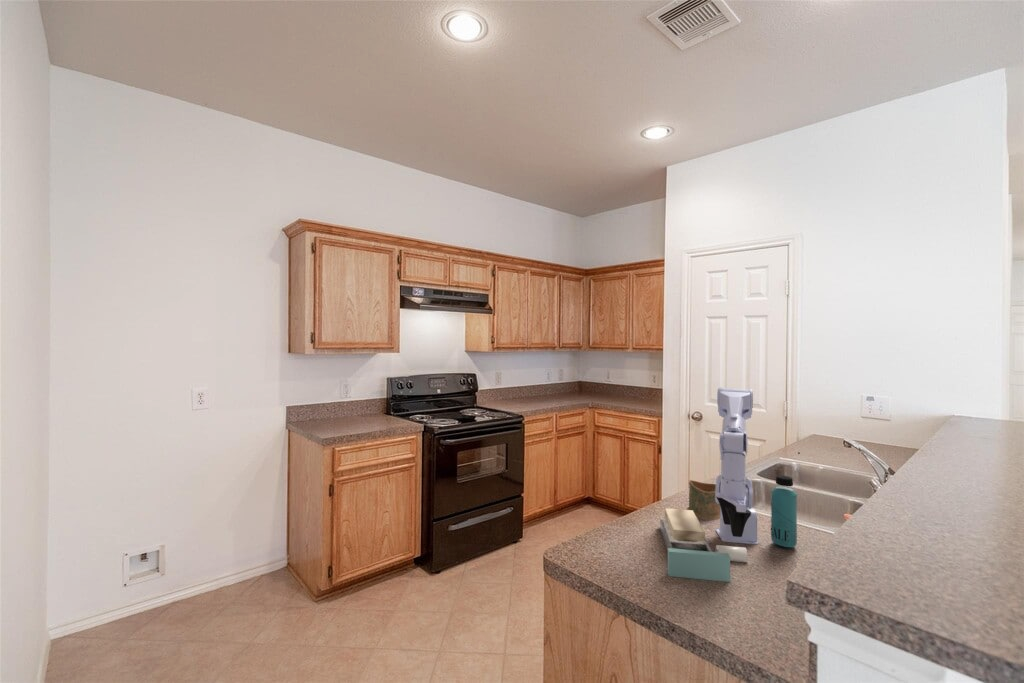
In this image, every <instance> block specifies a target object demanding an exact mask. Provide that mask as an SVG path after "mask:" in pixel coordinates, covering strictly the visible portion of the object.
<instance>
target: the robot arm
mask: <svg viewBox="0 0 1024 683" xmlns="http://www.w3.org/2000/svg"><path fill="white" fill-rule="evenodd" d="M716 394H717V395H716V397H717V400H716V401H717V412H718V415H719V417H722V418H723V419H722V425H721V426H722V427H721V432H719V445H718V446H719V453H720V454H719V455H720V460H721V461H720V462H721V463H720V465H721V466H720V474H719V475H718V476H717V478H716V483H715V484H716V488H715V501H716V502H717V504H720V519H719V520H720V521H719V528H717V529H715V531H716V533H717V535H718V537H719V538H720V540H721V541H722V542H724V543H736V544H747V545H759V542H758V516H757V512H756V510H755V508H754V507H753V504H754V503H753V502H754V499H753V498H754V491H753V490H754V489H753V482H752V480H751V479H750V478H748V477H747V476H746V461H747V460H746V458H747V455H748V435H747V430H746V428H747V426H746V420H749V419H751V418H752V415H753V408H754V391H753V389H752V388H748V389H747V388H731V387H730V388H727V387H719V388H718V389H717V393H716Z"/></svg>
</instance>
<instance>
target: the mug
mask: <svg viewBox="0 0 1024 683" xmlns="http://www.w3.org/2000/svg"><path fill="white" fill-rule="evenodd" d="M688 487H689V488H688V490H689V492H688V507H687V508H686V509H685V510H693V512H694V514H695V515H696V517H697V519H703V520H711V519H714V520H720V504H717V502H716V501H715V488H716V483H707V482H701V481H696V480H692V479H690V480H689V482H688Z"/></svg>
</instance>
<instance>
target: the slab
mask: <svg viewBox="0 0 1024 683" xmlns="http://www.w3.org/2000/svg"><path fill="white" fill-rule="evenodd" d="M664 518H665V521H667V523H668V526H669V528H670V531H671V534H672V536H673V539H681V540H693V541H705V538H706V532H705V529H704V528H703V526H702V524H701V523H700V521H699V518H697V517H696V515H695V514H694V512H693V510H686V509H680V508H679V509H678V508H664Z"/></svg>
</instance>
